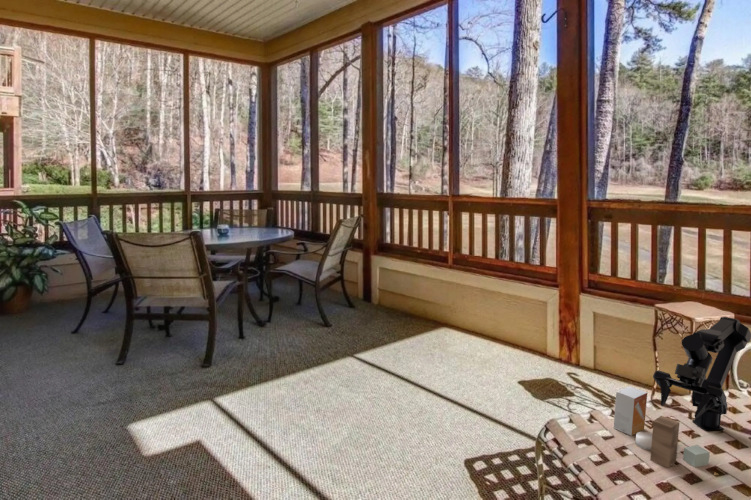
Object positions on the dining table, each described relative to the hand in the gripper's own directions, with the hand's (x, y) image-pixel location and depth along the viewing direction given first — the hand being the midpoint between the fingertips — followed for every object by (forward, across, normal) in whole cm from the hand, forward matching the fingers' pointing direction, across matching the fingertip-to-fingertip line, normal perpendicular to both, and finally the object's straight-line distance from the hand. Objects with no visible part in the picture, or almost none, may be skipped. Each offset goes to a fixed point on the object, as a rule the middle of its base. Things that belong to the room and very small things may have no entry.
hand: (678, 411), depth 146 cm
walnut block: (+15, 0, +4) cm, 15 cm away
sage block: (+10, +6, +9) cm, 15 cm away
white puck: (+11, -7, +8) cm, 15 cm away
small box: (+7, -15, +12) cm, 21 cm away
